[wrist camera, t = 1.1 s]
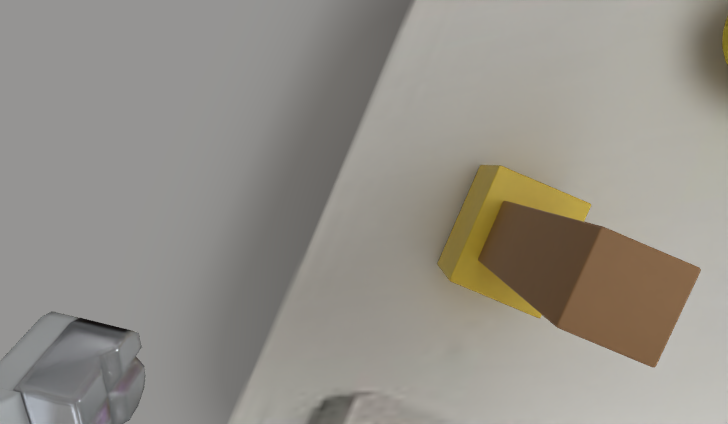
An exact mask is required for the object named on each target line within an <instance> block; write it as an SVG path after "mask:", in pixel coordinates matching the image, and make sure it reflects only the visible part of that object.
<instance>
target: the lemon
mask: <svg viewBox="0 0 728 424" xmlns="http://www.w3.org/2000/svg"><path fill="white" fill-rule="evenodd" d="M722 48H723V52H724V57H725V61H726V63H727V65H728V16H727V19H726V22H725V26H724V30H723V38H722Z"/></svg>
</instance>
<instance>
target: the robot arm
mask: <svg viewBox="0 0 728 424" xmlns="http://www.w3.org/2000/svg"><path fill="white" fill-rule="evenodd" d="M140 349H141V341H140V336H139V333H137V332H134V331H131V330H127V329H123V328H119V327H115V326H111V325H107V324H103V323H99V322H95V321H91V320H87V319H83V318H78V317H73V316H69V315H65V314H60V313H56V312H50V313H48V314H46V315H44V316H42V317H41V318H40V319H39V320H38V321H37V322H36V323H35V324H34V325H33V326H32V328H31V329H30V330H29V331H28V332H27V333H26V334H25V335H24V336H23V337H22V338H21V340H19V341H18V343H17V344H16V345H15V346H14V347H13V348H12V349H11V350H10V351H9V352H8V353H7V354H6V355H5V357H4V358H3V359H2V360H1V361H0V424H124V423H125V422H127V421H129V420H130V418H131V416H132V415H133V413H134V411H135V410H136V408H137V406H138V404H139V401H140V399H141V395H142V393H143V390H144V384H145V369H144V365H143V364H142V363H141V362H140V360H139V359H138V358H137V357H136V355H137V353H138V352H139V350H140Z"/></svg>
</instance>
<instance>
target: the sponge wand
mask: <svg viewBox="0 0 728 424" xmlns="http://www.w3.org/2000/svg"><path fill="white" fill-rule="evenodd" d="M590 207H591V204H590V203H587V202H585V201H583V200H580V199H578V198H576V197H573V196H571V195H569V194H566V193H564V192H562V191H559V190H557V189H555V188H552V187H550V186H548V185H545V184H543V183H541V182H538V181H536V180H534V179H531V178H529V177H526V176H524V175H522V174H519V173H517V172H515V171H512V170H510V169H508V168H505V167H503V166H500V165H480V167H479V169H478V171H477V174H476V176H475V178H474V181H473V183H472V185H471V188H470V190H469V192H468V194H467V197H466V199H465V201H464V204H463V206H462V208H461V210H460V213H459V215H458V217H457V220H456V222H455V224H454V227H453V229H452V231H451V233H450V236H449V238H448V240H447V243H446V245H445V247H444V250H443V252H442V254H441V256H440V259H439V261H438V263H437V264H438V266H439V267H440V268H441V270H442V271H443V273H444V274H445V275H446V277H447V278H448V279H449V281H451V282H453V283H456V284H458V285H460V286H463V287H465V288H468V289H470V290H472V291H475V292H477V293H480V294H482V295H484V296H487V297H489V298H492V299H494V300H496V301H499V302H501V303H504V304H506V305H508V306H511V307H513V308H515V309H518V310H520V311H523V312H525V313H527V314H530V315H532V316H535V317H537V318H540V317H541V315H543V316H544V317H545V318H547V319H548V320H549V321H550V322H551V323H552V324H554V325H555V326H556V327H557V328H560V329H562V330H564V331H567V332H569V333H572V334H574V335H576V336H579V337H581V338H583V339H586V340H588V341H591V342H593V343H595V344H598V345H600V346H603V347H605V348H607V349H610V350H612V351H615V352H617V353H619V354H622V355H624V356H627V357H629V358H631V359H634V360H636V361H638V362H641V363H643V364H646V365H648V366H650V367H656V365H657V363H658V361H659V358H660V356H661V354H662V352H663V350H664V348H665V346H666V344H667V341H668V339H669V337H670V335H671V333H672V331H673V329H674V327H675V324H676V322H677V320H678V318H679V316H680V314H681V312H682V310H683V307H684V305H685V303H686V301H687V299H688V297H689V295H690V292H691V290H692V288H693V286H694V284H695V282H696V280H697V278H698V275H699V273H700V271H701V269H700V268H699V267H697V266H694V265H692V264H689V263H687V262H685V261H682V260H680V259H678V258H675V257H673V256H671V255H668V254H666V253H664V252H661V251H659V250H657V249H654V248H652V247H649V246H647V245H645V244H642V243H640V242H638V241H635V240H633V239H631V238H628V237H626V236H624V235H621V234H619V233H617V232H614V231H612V230H609V229H607V228H605V227H602V226H598V225H595V224H591V223H587V222H584V220H585V218H586V216H587V214H588V211H589V209H590Z"/></svg>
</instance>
